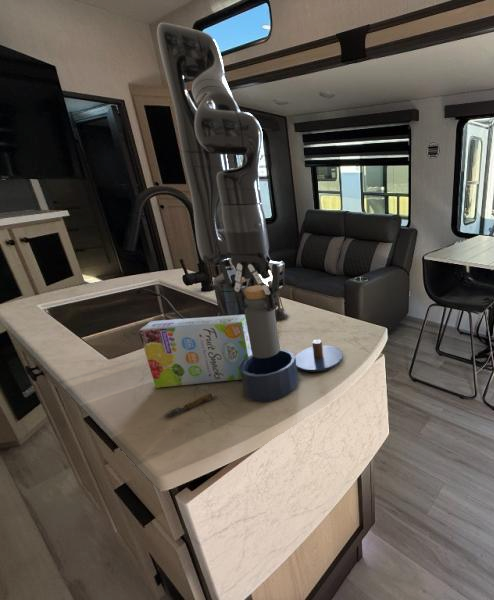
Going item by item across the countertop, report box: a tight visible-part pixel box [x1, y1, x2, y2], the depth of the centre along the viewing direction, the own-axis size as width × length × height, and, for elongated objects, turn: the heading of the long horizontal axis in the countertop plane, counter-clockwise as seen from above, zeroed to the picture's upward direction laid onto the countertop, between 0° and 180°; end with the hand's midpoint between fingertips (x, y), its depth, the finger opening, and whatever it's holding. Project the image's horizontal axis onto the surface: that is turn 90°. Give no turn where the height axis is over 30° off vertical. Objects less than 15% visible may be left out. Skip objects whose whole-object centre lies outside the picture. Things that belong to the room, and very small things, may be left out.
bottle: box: [244, 284, 281, 358], centre depth 68 cm, size 6×6×15 cm
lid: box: [294, 339, 344, 373], centre depth 84 cm, size 13×13×6 cm
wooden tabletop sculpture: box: [269, 268, 289, 322], centre depth 109 cm, size 6×5×20 cm
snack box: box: [138, 315, 252, 389], centre depth 75 cm, size 21×6×15 cm, turn 100°
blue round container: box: [240, 348, 299, 403], centre depth 73 cm, size 12×12×6 cm
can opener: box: [163, 393, 214, 418], centre depth 66 cm, size 9×2×1 cm, turn 131°
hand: (259, 308), depth 67 cm, fingers closed on bottle, 5 cm apart
